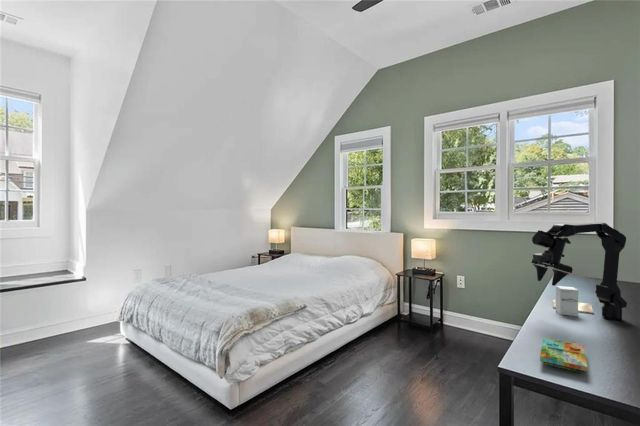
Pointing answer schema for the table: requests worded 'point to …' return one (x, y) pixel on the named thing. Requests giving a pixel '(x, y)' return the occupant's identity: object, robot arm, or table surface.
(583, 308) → the gold metal board
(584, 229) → the robot arm
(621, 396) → the table surface
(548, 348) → the puzzle game
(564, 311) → the supplement box
